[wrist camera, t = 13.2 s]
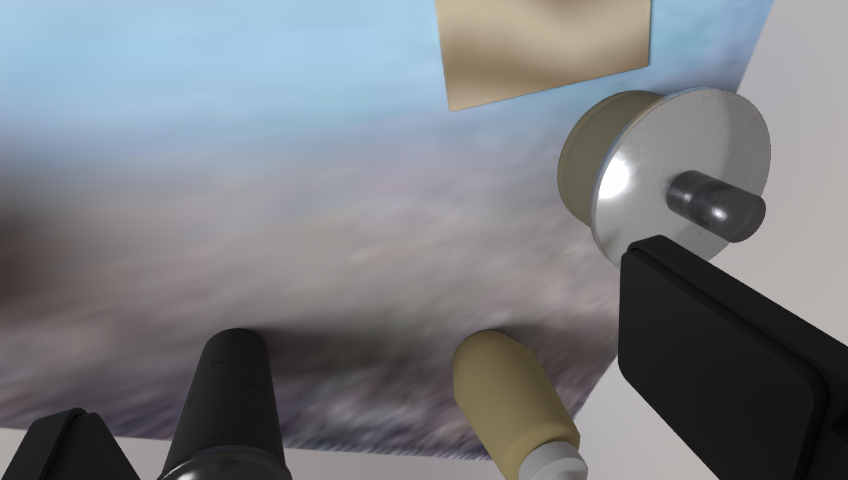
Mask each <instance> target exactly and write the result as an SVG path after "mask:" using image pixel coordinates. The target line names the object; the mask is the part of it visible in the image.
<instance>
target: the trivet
mask: <svg viewBox="0 0 848 480" xmlns="http://www.w3.org/2000/svg"><path fill="white" fill-rule="evenodd" d="M434 1H435V9H436V16H437V24H438V31H439V38H440V46H441V53H442V61H443V68H444V76H445V83H446V91H447V98H448V106H449V111H450V112H452V111H456V110H461V109H465V108H469V107H474V106H478V105H482V104H487V103H491V102H495V101H500V100H504V99H508V98H513V97H517V96H521V95H525V94H530V93H534V92H538V91H543V90H547V89H551V88H556V87H560V86H564V85H569V84H573V83H577V82H582V81H586V80H590V79H594V78H599V77H603V76H607V75H612V74H616V73H620V72H625V71H629V70H633V69H638V68H642V67H646V66H648V47H649V26H650V5H651V0H434Z"/></svg>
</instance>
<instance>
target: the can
mask: <svg viewBox="0 0 848 480" xmlns="http://www.w3.org/2000/svg"><path fill="white" fill-rule="evenodd" d="M662 97H665V96H660V95H656V94H653V93H650V92H645V91H626V92H621V93H617V94H615V95H612V96H610V97H608V98H606V99H604V100H602V101H600V102H599V103H597V104H596V105H595V106H593V107H592V108H591V109H590V110H588V111H587V112H586V113H585V114H584V115H583V116H582V117H581V118H580V120H579V121H578V122H577V123H576V125H575V126H574V128H573V129H572V130H571V132H570V134H569V136H568V137H567V139H566V141H565V144H564V146H563V149H562V152H561V155H560V159H559V164H558V175H557V178H558V187H559V192H560V195H561V198H562V200H563V202H564V204H565V206H566V207H567V209H568V210H569V211H570V212H571V213H572V214H573V215H574V216H575V217H576V218H578V219H579V220H581V221H582V222H584V223H585V224H586V225H588V226H589V227H590V221H589V202H590V195H591V189H592V185H593V182H594V178H595V175H596V172H597V170H598V168H599V165H600V163H601V161H602V159H603V157H604V155H605V153H606V152H607V150H608V148H609V147H610V145H611V144H612V142H613V141H614V139H615V138H616V137H617V135H618V134H619V133H620V132H621V131H622V129H623V128H624V127H625V126H626V125H627V124H628V123H629V122H630V121H631V120H632V119H633V118H634V117H635V116H636V115H637V114H638V113H640V112H641V111H642V110H644V109H645V108H646V107H647V106H649V105H650V104H652V103H654V102H655V101H657V100H659V99H660V98H662ZM590 228H591V227H590Z"/></svg>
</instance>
